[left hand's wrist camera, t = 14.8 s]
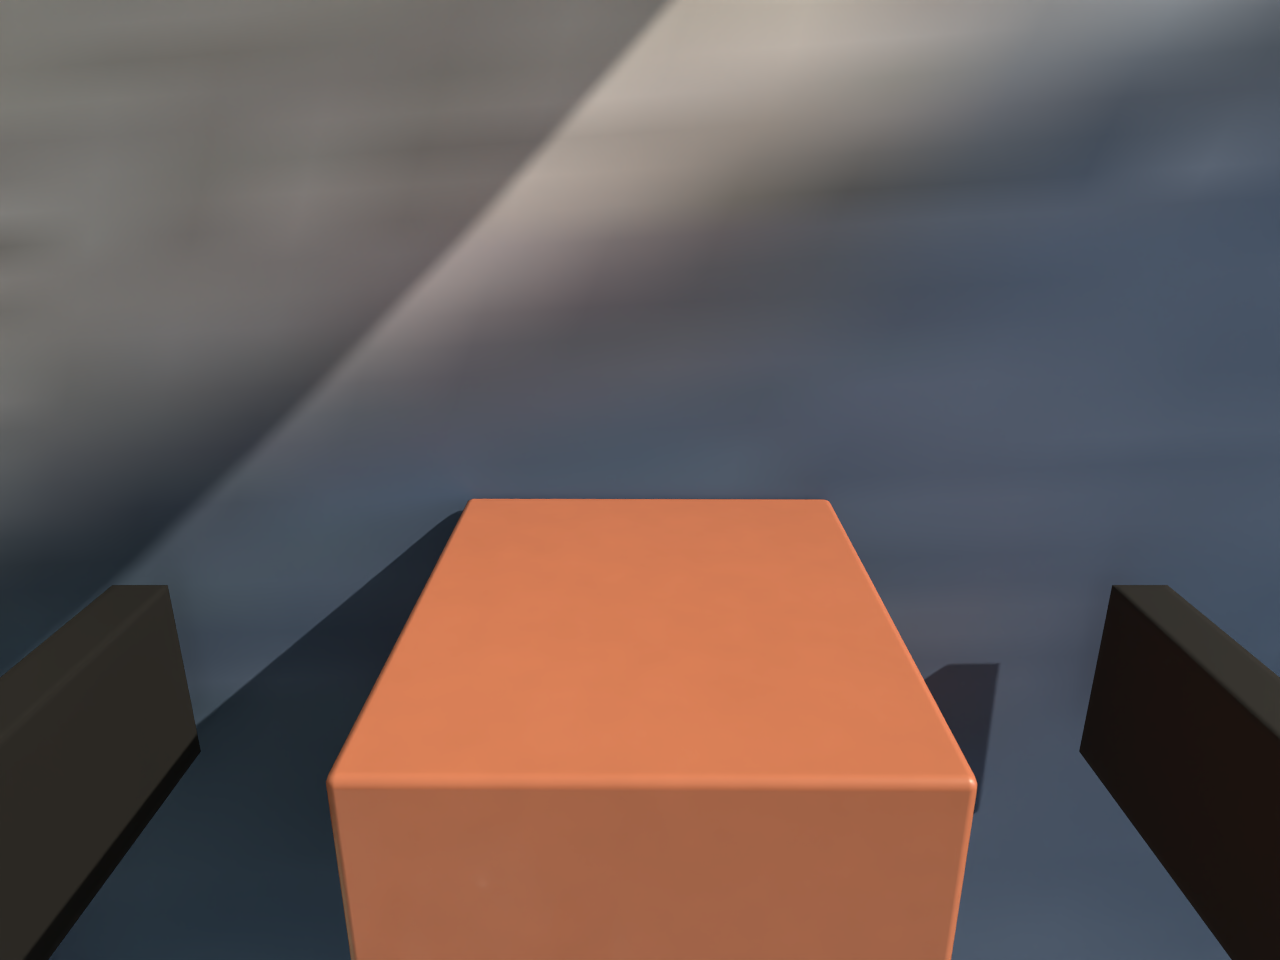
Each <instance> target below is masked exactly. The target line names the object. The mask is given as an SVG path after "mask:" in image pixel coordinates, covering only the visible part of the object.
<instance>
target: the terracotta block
mask: <svg viewBox="0 0 1280 960" xmlns="http://www.w3.org/2000/svg"><path fill="white" fill-rule="evenodd" d="M326 787H327V794H328V801H329V808H330V815H331V822H332V829H333V836H334V843H335V850H336V857H337V864H338V871H339V878H340V885H341V892H342V899H343V906H344V913H345V920H346V927H347V934H348V941H349V948H350V955H351V960H951V955H952V949H953V942H954V936H955V929H956V923H957V916H958V910H959V903H960V897H961V890H962V883H963V877H964V870H965V864H966V857H967V851H968V844H969V838H970V831H971V825H972V818H973V812H974V805H975V799H976V792H977V781H976V778H975V776H974V774H973V772H972V770H971V768H970V766H969V764H968V763H967V761H966V759H965V757H964V755H963V753H962V751H961V749H960V747H959V746H958V744H957V742H956V740H955V738H954V736H953V734H952V732H951V730H950V729H949V727H948V725H947V723H946V721H945V719H944V717H943V715H942V713H941V712H940V710H939V708H938V706H937V704H936V702H935V700H934V698H933V697H932V695H931V693H930V691H929V689H928V687H927V685H926V683H925V681H924V680H923V678H922V676H921V674H920V672H919V670H918V668H917V666H916V664H915V663H914V661H913V659H912V657H911V655H910V653H909V651H908V649H907V647H906V646H905V644H904V642H903V640H902V638H901V636H900V634H899V632H898V630H897V629H896V627H895V625H894V623H893V621H892V619H891V617H890V615H889V613H888V612H887V610H886V608H885V606H884V604H883V602H882V600H881V598H880V597H879V595H878V593H877V591H876V589H875V587H874V585H873V583H872V581H871V580H870V578H869V576H868V574H867V572H866V570H865V568H864V566H863V564H862V563H861V561H860V559H859V557H858V555H857V553H856V551H855V549H854V547H853V546H852V544H851V542H850V540H849V538H848V536H847V534H846V532H845V530H844V529H843V527H842V525H841V523H840V521H839V519H838V517H837V515H836V514H835V512H834V510H833V508H832V506H831V504H830V502H829V501H826V500H752V499H472V500H469V501H468V502H467V504H466V506H465V508H464V510H463V512H462V514H461V516H460V518H459V520H458V522H457V524H456V526H455V528H454V530H453V532H452V534H451V536H450V538H449V540H448V541H447V543H446V545H445V547H444V549H443V551H442V553H441V555H440V557H439V559H438V561H437V563H436V565H435V567H434V569H433V571H432V573H431V575H430V577H429V579H428V581H427V583H426V585H425V586H424V588H423V590H422V592H421V594H420V596H419V598H418V600H417V602H416V604H415V606H414V608H413V610H412V612H411V614H410V616H409V618H408V620H407V622H406V624H405V626H404V628H403V630H402V631H401V633H400V635H399V637H398V639H397V641H396V643H395V645H394V647H393V649H392V651H391V653H390V655H389V657H388V659H387V661H386V663H385V665H384V667H383V669H382V671H381V673H380V674H379V676H378V678H377V680H376V682H375V684H374V686H373V688H372V690H371V692H370V694H369V696H368V698H367V700H366V702H365V704H364V706H363V708H362V710H361V712H360V714H359V716H358V718H357V719H356V721H355V723H354V725H353V727H352V729H351V731H350V733H349V735H348V737H347V739H346V741H345V743H344V745H343V747H342V749H341V751H340V753H339V755H338V757H337V759H336V761H335V763H334V764H333V766H332V768H331V770H330V772H329V774H328V777H327V780H326Z"/></svg>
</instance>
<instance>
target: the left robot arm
mask: <svg viewBox="0 0 1280 960" xmlns="http://www.w3.org/2000/svg"><path fill="white" fill-rule="evenodd" d="M200 752H201V751H200V746H199V740H198V735H197V730H196V725H195V720H194V715H193V710H192V705H191V700H190V695H189V690H188V685H187V680H186V675H185V670H184V665H183V660H182V655H181V650H180V645H179V640H178V635H177V630H176V625H175V620H174V615H173V610H172V605H171V600H170V595H169V590H168V585H112V586H111V587H110V588H109V589H107V590H106V591H105V592H104V593H103V594H101V595H100V596H99V597H98V598H96V599H95V600H94V601H93V602H92V603H90V604H89V605H88V606H87V607H85V608H84V609H83V610H82V611H81V612H79V613H78V614H77V615H76V616H75V617H73V618H72V619H71V620H70V621H68V622H67V623H66V624H65V625H64V626H62V627H61V628H60V629H59V630H58V631H56V632H55V633H54V634H53V635H51V636H50V637H49V638H48V639H47V640H45V641H44V642H43V643H42V644H41V645H39V646H38V647H37V648H36V649H34V650H33V651H32V652H31V653H30V654H28V655H27V656H26V657H25V658H24V659H22V660H21V661H20V662H19V663H17V664H16V665H15V666H14V667H13V668H11V669H10V670H9V671H8V672H7V673H5V674H4V675H3V676H2V677H0V960H48V959H49V958H50V957H51V955H52V954H53V952H54V951H55V950H56V948H57V947H58V946H59V944H60V943H61V941H62V940H63V939H64V937H65V936H66V935H67V933H68V932H69V931H70V929H71V928H72V926H73V925H74V924H75V922H76V921H77V920H78V918H79V917H80V916H81V914H82V913H83V911H84V910H85V909H86V907H87V906H88V905H89V903H90V902H91V900H92V899H93V898H94V896H95V895H96V894H97V892H98V891H99V890H100V888H101V887H102V885H103V884H104V883H105V881H106V880H107V879H108V877H109V876H110V875H111V873H112V872H113V870H114V869H115V868H116V866H117V865H118V864H119V862H120V861H121V860H122V858H123V857H124V855H125V854H126V853H127V851H128V850H129V849H130V847H131V846H132V844H133V843H134V842H135V840H136V839H137V838H138V836H139V835H140V834H141V832H142V831H143V829H144V828H145V827H146V825H147V824H148V823H149V821H150V820H151V819H152V817H153V816H154V814H155V813H156V812H157V810H158V809H159V808H160V806H161V805H162V803H163V802H164V801H165V799H166V798H167V797H168V795H169V794H170V793H171V791H172V790H173V788H174V787H175V786H176V784H177V783H178V782H179V780H180V779H181V778H182V776H183V775H184V773H185V772H186V771H187V769H188V768H189V767H190V765H191V764H192V763H193V761H194V760H195V758H196V757H197V756H198V754H199V753H200ZM1079 752H1080V753H1081V754H1082V756H1083V757H1084V758H1085V760H1086V761H1087V763H1088V764H1089V765H1090V767H1091V768H1092V769H1093V771H1094V772H1095V773H1096V775H1097V776H1098V778H1099V779H1100V780H1101V782H1102V783H1103V784H1104V786H1105V787H1106V788H1107V790H1108V791H1109V793H1110V794H1111V795H1112V797H1113V798H1114V799H1115V801H1116V802H1117V803H1118V805H1119V806H1120V808H1121V809H1122V810H1123V812H1124V813H1125V814H1126V816H1127V817H1128V819H1129V820H1130V821H1131V823H1132V824H1133V825H1134V827H1135V828H1136V829H1137V831H1138V832H1139V834H1140V835H1141V836H1142V838H1143V839H1144V840H1145V842H1146V843H1147V844H1148V846H1149V847H1150V849H1151V850H1152V851H1153V853H1154V854H1155V855H1156V857H1157V858H1158V860H1159V861H1160V862H1161V864H1162V865H1163V866H1164V868H1165V869H1166V870H1167V872H1168V873H1169V875H1170V876H1171V877H1172V879H1173V880H1174V881H1175V883H1176V884H1177V885H1178V887H1179V888H1180V890H1181V891H1182V892H1183V894H1184V895H1185V896H1186V898H1187V899H1188V900H1189V902H1190V903H1191V905H1192V906H1193V907H1194V909H1195V910H1196V911H1197V913H1198V914H1199V916H1200V917H1201V918H1202V920H1203V921H1204V922H1205V924H1206V925H1207V926H1208V928H1209V929H1210V931H1211V932H1212V933H1213V935H1214V936H1215V937H1216V939H1217V940H1218V941H1219V943H1220V944H1221V946H1222V947H1223V948H1224V950H1225V951H1226V952H1227V954H1228V955H1229V957H1230V958H1231V959H1232V960H1280V677H1278V676H1277V675H1276V674H1275V673H1273V672H1272V671H1271V670H1270V669H1269V668H1267V667H1266V666H1265V665H1264V664H1263V663H1261V662H1260V661H1259V660H1258V659H1256V658H1255V657H1254V656H1253V655H1252V654H1250V653H1249V652H1248V651H1247V650H1246V649H1244V648H1243V647H1242V646H1241V645H1239V644H1238V643H1237V642H1236V641H1235V640H1233V639H1232V638H1231V637H1230V636H1229V635H1227V634H1226V633H1225V632H1224V631H1222V630H1221V629H1220V628H1219V627H1218V626H1216V625H1215V624H1214V623H1213V622H1212V621H1210V620H1209V619H1208V618H1207V617H1205V616H1204V615H1203V614H1202V613H1201V612H1199V611H1198V610H1197V609H1196V608H1195V607H1193V606H1192V605H1191V604H1190V603H1188V602H1187V601H1186V600H1185V599H1184V598H1182V597H1181V596H1180V595H1179V594H1177V593H1176V592H1175V591H1174V590H1173V589H1171V588H1170V587H1169V586H1168V585H1112V590H1111V595H1110V600H1109V605H1108V610H1107V615H1106V620H1105V625H1104V630H1103V635H1102V640H1101V645H1100V650H1099V655H1098V660H1097V665H1096V670H1095V675H1094V680H1093V685H1092V690H1091V695H1090V700H1089V705H1088V710H1087V715H1086V720H1085V725H1084V730H1083V735H1082V740H1081V745H1080V751H1079Z"/></svg>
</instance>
